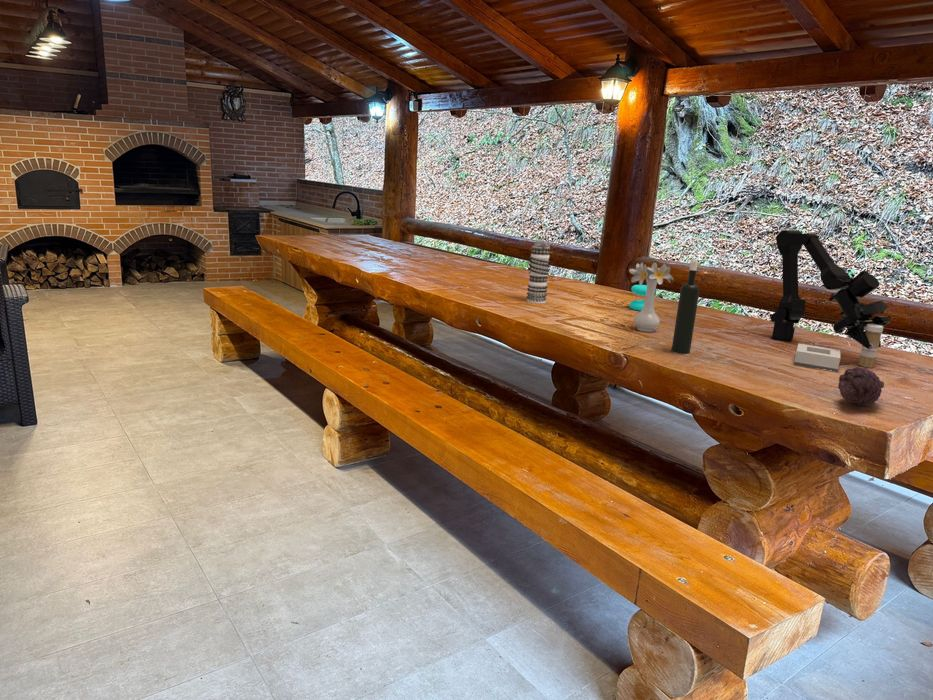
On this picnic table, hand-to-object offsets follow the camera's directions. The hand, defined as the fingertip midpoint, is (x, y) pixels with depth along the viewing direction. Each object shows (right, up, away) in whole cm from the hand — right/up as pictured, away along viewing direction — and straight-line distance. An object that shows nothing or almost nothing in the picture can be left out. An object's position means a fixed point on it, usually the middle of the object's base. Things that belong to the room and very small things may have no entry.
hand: (874, 347), depth 202 cm
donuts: (-53, +16, +74) cm, 92 cm away
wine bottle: (-58, -1, +8) cm, 59 cm away
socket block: (-17, -5, +2) cm, 18 cm away
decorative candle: (-98, +20, +77) cm, 126 cm away
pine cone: (-28, -15, -36) cm, 48 cm away
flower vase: (-63, +6, +35) cm, 72 cm away
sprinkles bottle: (-1, -6, +3) cm, 7 cm away
